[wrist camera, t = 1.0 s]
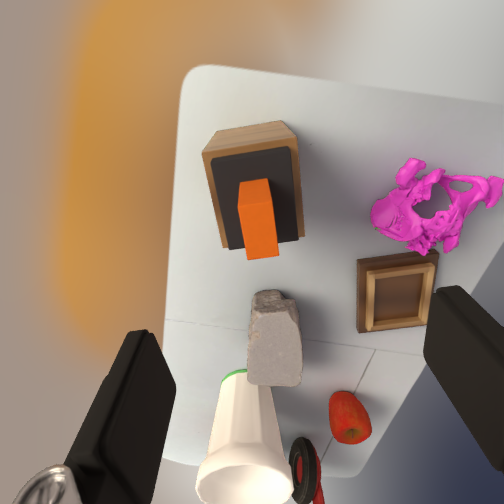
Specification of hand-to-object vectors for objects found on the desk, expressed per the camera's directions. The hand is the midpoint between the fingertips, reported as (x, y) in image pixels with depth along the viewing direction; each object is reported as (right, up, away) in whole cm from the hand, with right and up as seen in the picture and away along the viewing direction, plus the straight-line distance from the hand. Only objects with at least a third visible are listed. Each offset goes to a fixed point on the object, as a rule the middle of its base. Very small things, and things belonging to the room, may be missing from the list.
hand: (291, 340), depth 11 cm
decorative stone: (+2, -8, +35) cm, 36 cm away
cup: (-2, -20, +42) cm, 46 cm away
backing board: (+18, -2, +33) cm, 38 cm away
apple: (+14, -22, +43) cm, 50 cm away
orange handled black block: (-1, +7, +14) cm, 15 cm away
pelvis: (+19, +9, +27) cm, 34 cm away
